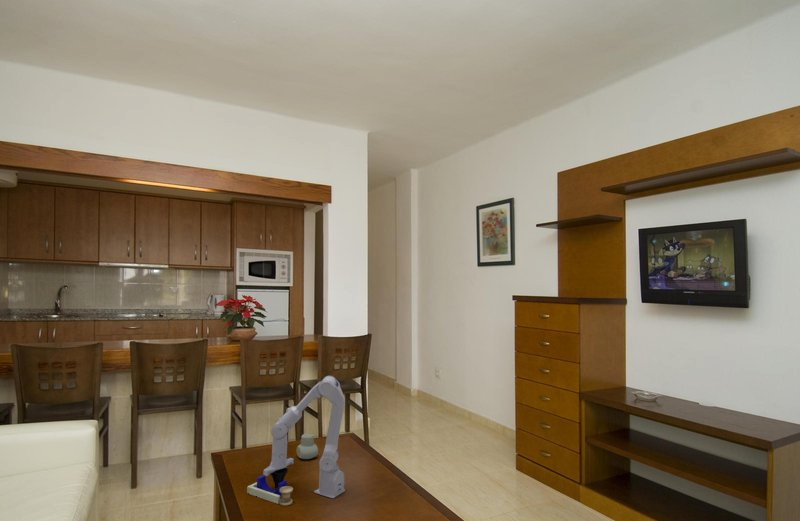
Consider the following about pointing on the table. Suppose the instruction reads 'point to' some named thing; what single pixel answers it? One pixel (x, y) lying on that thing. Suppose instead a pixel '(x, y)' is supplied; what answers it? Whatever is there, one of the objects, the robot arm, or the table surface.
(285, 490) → the bobbin
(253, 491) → the notched fence
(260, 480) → the blue curved block
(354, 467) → the table surface
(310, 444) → the air freshener
